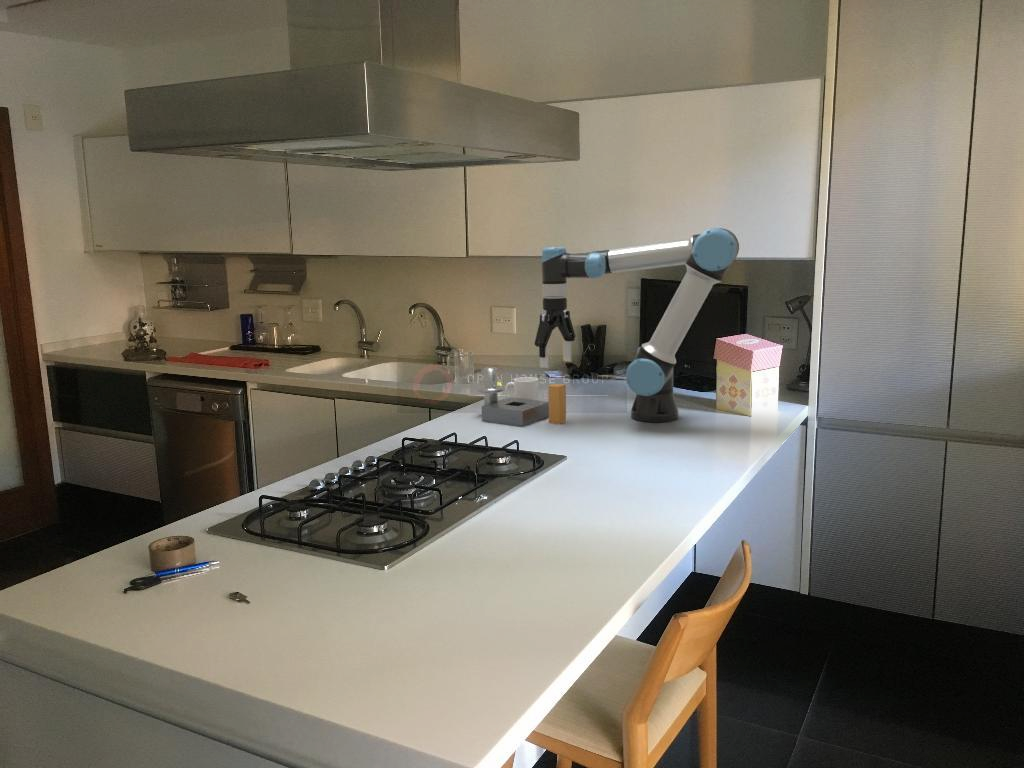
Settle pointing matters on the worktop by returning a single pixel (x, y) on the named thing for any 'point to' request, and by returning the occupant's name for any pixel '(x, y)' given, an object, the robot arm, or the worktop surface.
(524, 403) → the grey peg stand
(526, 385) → the cup
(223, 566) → the worktop surface
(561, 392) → the tall orange block
